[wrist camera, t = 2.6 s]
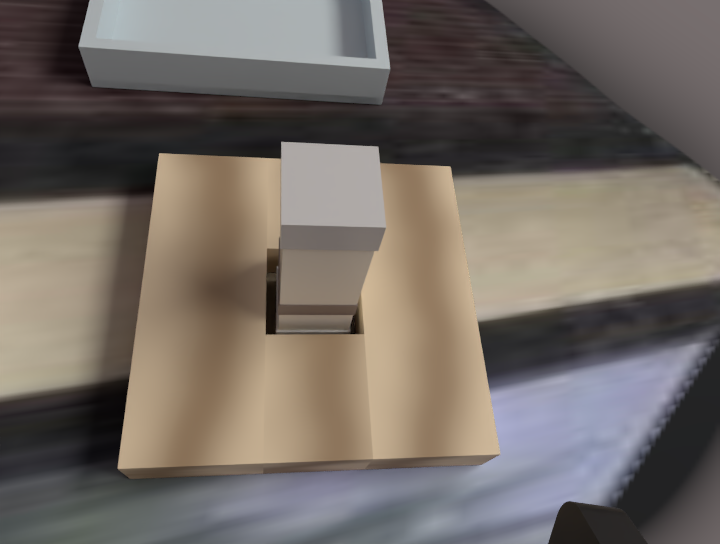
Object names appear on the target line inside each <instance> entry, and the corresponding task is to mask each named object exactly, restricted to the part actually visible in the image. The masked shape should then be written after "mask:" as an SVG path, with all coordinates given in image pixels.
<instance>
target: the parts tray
mask: <svg viewBox="0 0 720 544" xmlns="http://www.w3.org/2000/svg"><path fill="white" fill-rule="evenodd" d="M78 47H79V50H80V53H81V56H82V59H83V62H84V64H85V67H86V70H87V73H88V76H89V79H90V82H91V85H92V87H103V88H119V89H135V90H151V91H168V92H184V93H200V94H216V95H232V96H248V97H264V98H280V99H296V100H313V101H329V102H345V103H361V104H377V105H382V100H383V96H384V92H385V88H386V84H387V80H388V76H389V72H390V64H389V56H388V48H387V39H386V31H385V23H384V15H383V7H382V0H90V1H89V5H88V9H87V13H86V18H85V22H84V26H83V30H82V34H81V38H80V42H79V46H78Z"/></svg>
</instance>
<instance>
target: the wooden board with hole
mask: <svg viewBox="0 0 720 544" xmlns="http://www.w3.org/2000/svg"><path fill="white" fill-rule="evenodd" d="M280 168H281V159H271V158H249V157H227V156H205V155H183V154H161V153H159V159H158V167H157V174H156V182H155V189H154V197H153V204H152V212H151V219H150V227H149V235H148V242H147V250H146V257H145V265H144V272H143V280H142V287H141V295H140V303H139V310H138V318H137V325H136V333H135V340H134V348H133V356H132V363H131V371H130V378H129V386H128V393H127V401H126V408H125V416H124V424H123V431H122V439H121V446H120V454H119V461H118V470H119V471H121V472H122V473H123V474H125V475H126V476H127V477H128V478H130V479H144V478H168V477H193V476H217V475H241V474H266V473H290V472H315V471H339V470H364V469H388V468H413V467H437V466H461V465H482V464H484V463H486V462H487V461H489V460H491V459H493V458H495V457H496V456H498V455H500V450H499V444H498V438H497V432H496V426H495V421H494V415H493V409H492V403H491V398H490V392H489V386H488V380H487V375H486V369H485V363H484V357H483V352H482V346H481V340H480V334H479V328H478V323H477V317H476V311H475V305H474V300H473V294H472V288H471V282H470V277H469V271H468V265H467V259H466V254H465V248H464V242H463V236H462V230H461V225H460V219H459V213H458V207H457V202H456V196H455V190H454V184H453V179H452V173H451V167H447V166H425V165H403V164H381V163H380V170H381V180H382V190H383V200H384V210H385V220H386V230H385V233H384V236H383V239H382V242H381V245H380V247H379V250H378V251H374V254H373V257H372V260H371V263H370V267H369V270H368V273H367V276H366V279H365V282H364V285H363V288H362V291H361V294H360V297H359V300H358V307H357V310H356V313H355V315H354V317H355V333H356V334H290V335H266V286H267V272H276V270H277V266H278V247H279V237H280Z"/></svg>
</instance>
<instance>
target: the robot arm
mask: <svg viewBox="0 0 720 544" xmlns="http://www.w3.org/2000/svg"><path fill="white" fill-rule="evenodd" d="M548 544H647V542H646V541H645V539H644V538H643V536H642V535H641V534H640V532H639V531H638V529H637V528H636V526H635V525H634V524H633V522H632V521H631V519H630V518H629V516H628V515H627V514H626V513H625V512H624V511H623V510H621V509H619V508H613V507H605V506H598V505H591V504H584V503H577V502H570V501H569V502H566V503H564V504H563V505H562V506H561V508H560V510H559V512H558V514H557V517H556V521H555V524H554V527H553V530H552V533H551V536H550V540H549V543H548Z"/></svg>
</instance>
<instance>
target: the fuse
mask: <svg viewBox="0 0 720 544" xmlns="http://www.w3.org/2000/svg"><path fill="white" fill-rule="evenodd" d="M385 230H386V220H385V210H384V200H383V190H382V180H381V170H380V160H379V150H378V147H372V146H352V145H332V144H312V143H292V142H281V168H280V237H279V247H278V266H277V270H276V335H290V334H350V332H351V331H350V324H351V321H352V318H353V315H355V313H356V310H357V307H358V300H359V297H360V294H361V291H362V288H363V285H364V282H365V279H366V276H367V273H368V270H369V267H370V263H371V260H372V257H373V254H374V251H378V250H379V247H380V245H381V242H382V239H383V236H384V233H385Z"/></svg>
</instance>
